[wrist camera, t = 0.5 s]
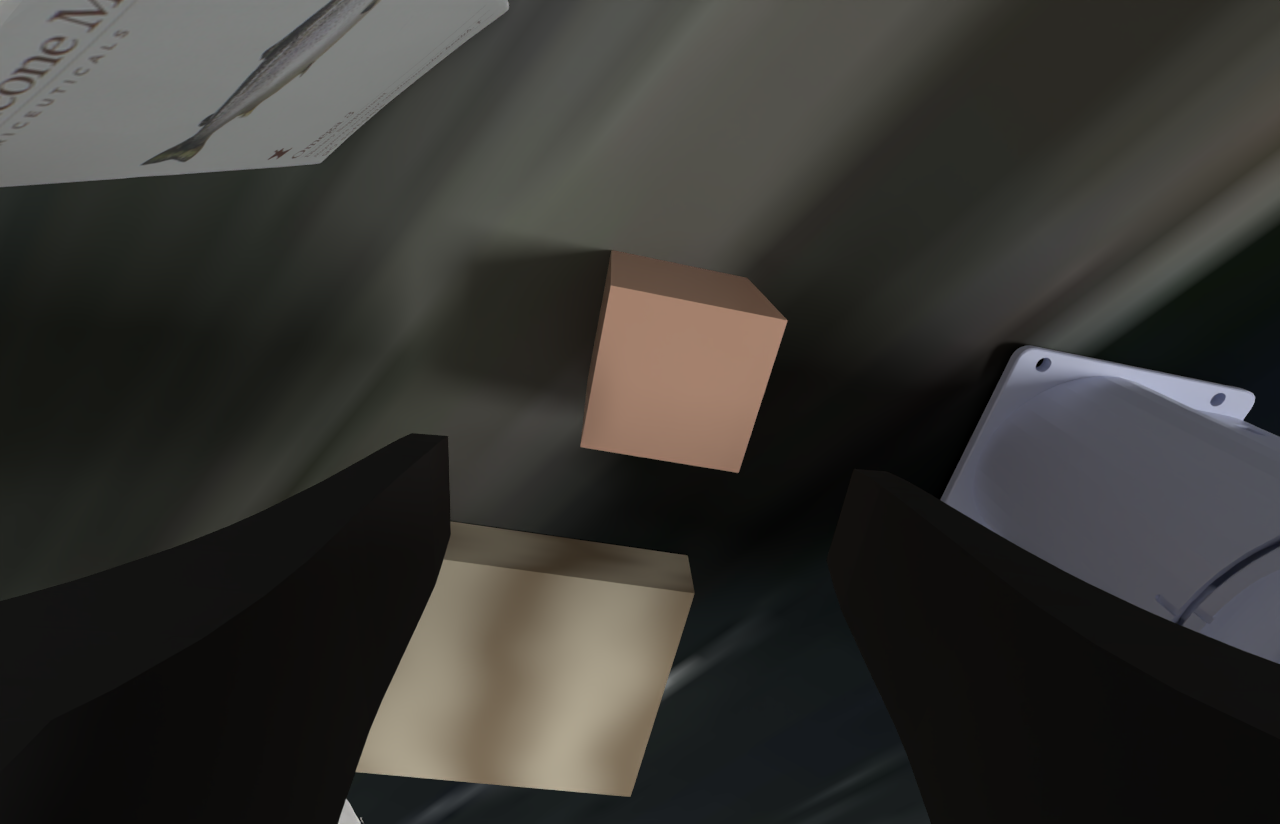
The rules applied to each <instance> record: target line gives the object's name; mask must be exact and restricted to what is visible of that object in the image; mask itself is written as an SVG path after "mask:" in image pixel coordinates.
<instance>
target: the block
mask: <svg viewBox="0 0 1280 824" xmlns="http://www.w3.org/2000/svg"><path fill="white" fill-rule="evenodd" d="M787 321H788V320H787V319H786V318H785V317H784V316H783V315H782V314H781V313H780V312H779V311H778V310H777V309H776V308H775V307H774V306H773V305H772V304H771V302H770V301H769V300H768V299H767V298H766V297H765V296H764V295H763V294H762V293H761V292H760V291H759V290H758V289H757V288H756V287H755V286H754V285H753V284H752V283H751V281H750V280H749V279H748V278H745V277H740V276H735V275H731V274H726V273H721V272H716V271H711V270H706V269H701V268H697V267H692V266H687V265H682V264H677V263H672V262H667V261H663V260H658V259H653V258H648V257H643V256H638V255H633V254H629V253H624V252H619V251H614V250H611V255H610V261H609V266H608V272H607V277H606V282H605V288H604V293H603V299H602V304H601V309H600V315H599V320H598V326H597V331H596V337H595V342H594V347H593V353H592V358H591V364H590V369H589V375H588V380H587V389H586V399H585V408H584V417H583V427H582V436H581V445H580V447H583V448H589V449H595V450H601V451H607V452H613V453H619V454H626V455H632V456H638V457H644V458H650V459H656V460H662V461H668V462H675V463H681V464H687V465H693V466H699V467H705V468H711V469H717V470H724V471H730V472H736V473H739V470H740V467H741V464H742V461H743V458H744V455H745V452H746V448H747V445H748V442H749V439H750V436H751V433H752V430H753V427H754V424H755V420H756V417H757V414H758V411H759V408H760V405H761V402H762V399H763V395H764V392H765V389H766V386H767V383H768V380H769V377H770V374H771V371H772V367H773V364H774V361H775V358H776V355H777V352H778V349H779V346H780V342H781V339H782V336H783V333H784V330H785V327H786V324H787Z"/></svg>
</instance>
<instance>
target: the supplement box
mask: <svg viewBox="0 0 1280 824" xmlns="http://www.w3.org/2000/svg"><path fill="white" fill-rule="evenodd" d="M508 9H509V3H508V1H507V0H0V187H10V186H24V185H39V184H53V183H67V182H81V181H94V180H108V179H122V178H133V177H144V176H163V175H177V174H191V173H205V172H218V171H232V170H245V169H262V168H274V167H287V166H298V165H311V164H319V163H321V162H322V161H323V160H324V159H325V158H327V157H328V156H329V155H330V154H331V153H332V152H333V151H334V150H335V149H336V148H337V147H339V146H340V145H341V144H342V143H343V142H344V141H345V140H346V139H347V138H348V137H349V136H351V135H352V134H353V133H354V132H355V131H356V130H357V129H358V128H360V127H361V126H362V125H363V124H364V123H365V122H366V121H368V120H369V119H370V118H371V117H372V116H373V115H375V114H376V113H377V112H378V111H379V110H380V109H382V108H383V107H384V106H385V105H386V104H388V103H389V102H390V101H391V100H393V99H394V98H395V97H396V96H397V95H399V94H400V93H401V92H402V91H404V90H405V89H406V88H407V87H409V86H410V85H411V84H412V83H414V82H415V81H416V80H417V79H419V78H420V77H421V76H422V75H424V74H425V73H426V72H428V71H429V70H430V69H431V68H433V67H434V66H435V65H436V64H438V63H439V62H440V61H441V60H443V59H444V58H445V57H447V56H448V55H449V54H450V53H452V52H453V51H454V50H456V49H457V48H458V47H459V46H461V45H462V44H463V43H465V42H466V41H467V40H469V39H470V38H471V37H473V36H474V35H475V34H477V33H478V32H479V31H481V30H482V29H483V28H485V27H486V26H487V25H489V24H490V23H491V22H493V21H494V20H496V19H497V18H498V17H500V16H501V15H503V14H504V13H505V12H506V11H508Z"/></svg>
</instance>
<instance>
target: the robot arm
mask: <svg viewBox="0 0 1280 824" xmlns="http://www.w3.org/2000/svg"><path fill="white" fill-rule="evenodd" d="M1042 358H1044V360H1043V363H1042V364H1041V365H1040V366H1039V367H1037V368H1036V364H1037V362H1038V361H1039V360H1040V359H1042ZM1214 395H1215V396H1214ZM1213 396H1214V397H1213ZM1212 397H1213V398H1212ZM1254 402H1255V396H1254V394H1253V393H1251V392H1249V391H1247V390H1244V389H1242V388H1238V387H1233V386H1228V385H1223V384H1218V383H1213V382H1208V381H1203V380H1198V379H1194V378H1189V377H1184V376H1179V375H1174V374H1169V373H1164V372H1159V371H1154V370H1149V369H1144V368H1140V367H1135V366H1130V365H1125V364H1120V363H1115V362H1110V361H1105V360H1100V359H1095V358H1090V357H1086V356H1081V355H1076V354H1071V353H1066V352H1061V351H1056V350H1051V349H1046V348H1041V347H1036V346H1032V345H1025V346H1022V347H1020V348H1018V349H1017V350H1016V351H1015V352H1014V353H1013V354H1012V356H1011V358H1010V360H1009V362H1008V364H1007V366H1006V368H1005V370H1004V372H1003V374H1002V376H1001V378H1000V380H999V382H998V384H997V386H996V388H995V390H994V392H993V394H992V396H991V398H990V400H989V402H988V404H987V406H986V408H985V410H984V412H983V414H982V416H981V418H980V420H979V422H978V424H977V426H976V428H975V430H974V432H973V434H972V437H971V439H970V441H969V443H968V445H967V447H966V449H965V451H964V453H963V455H962V457H961V459H960V461H959V463H958V465H957V467H956V469H955V471H954V473H953V475H952V477H951V479H950V481H949V483H948V485H947V487H946V489H945V491H944V493H943V495H942V497H941V499H940V500H939V499H938V498H936V497H934V496H933V495H931V494H929V493H927V492H926V491H924V490H922V489H920V488H919V487H917V486H915V485H913V484H912V483H910V482H908V481H906V480H904V479H902V478H900V477H898V476H896V475H894V474H891V473H889V472H887V471H875V470H863V469H854V470H853V473H852V476H851V480H850V483H849V486H848V490H847V493H846V496H845V500H844V503H843V506H842V510H841V513H840V517H839V520H838V523H837V527H836V530H835V533H834V537H833V540H832V543H831V547H830V550H829V553H828V557H827V563H828V567H829V571H830V574H831V578H832V582H833V585H834V588H835V592H836V595H837V598H838V601H839V604H840V607H841V610H842V612H843V615H844V617H845V619H846V621H847V624H848V626H849V628H850V630H851V632H852V635H853V637H854V639H855V641H856V643H857V646H858V648H859V650H860V652H861V654H862V656H863V659H864V661H865V663H866V665H867V667H868V669H869V671H870V673H871V676H872V678H873V680H874V682H875V684H876V686H877V688H878V691H879V693H880V695H881V697H882V699H883V701H884V703H885V705H886V708H887V710H888V712H889V714H890V716H891V718H892V720H893V723H894V725H895V727H896V729H897V732H898V734H899V736H900V739H901V741H902V744H903V746H904V748H905V751H906V753H907V756H908V759H909V761H910V764H911V767H912V770H913V773H914V776H915V779H916V781H917V784H918V787H919V790H920V793H921V796H922V798H923V801H924V804H925V807H926V810H927V813H928V816H929V818H930V822H931V824H1280V437H1278V436H1276V435H1274V434H1272V433H1270V432H1267V431H1265V430H1263V429H1261V428H1258V427H1256V426H1254V425H1252V424H1249V423H1247V422H1245V421H1243V419H1244V418H1245V416H1246V415H1247V414H1248V412H1249V411H1250V409H1251V408H1252V406H1253V404H1254ZM450 536H451V525H450V491H449V457H448V436H438V435H425V434H413V433H412V434H409V435H407V436H405V437H402V438H400V439H398V440H397V441H395V442H393V443H391V444H389V445H387V446H385V447H384V448H382V449H380V450H378V451H376V452H375V453H373V454H371V455H369V456H368V457H366V458H364V459H362V460H360V461H359V462H357V463H355V464H353V465H351V466H350V467H348V468H346V469H344V470H342V471H340V472H339V473H337V474H335V475H333V476H331V477H330V478H328V479H326V480H324V481H322V482H320V483H318V484H316V485H314V486H312V487H310V488H308V489H306V490H304V491H302V492H300V493H298V494H296V495H294V496H292V497H290V498H288V499H286V500H284V501H282V502H280V503H278V504H276V505H274V506H272V507H270V508H268V509H266V510H264V511H262V512H260V513H257V514H255V515H253V516H251V517H249V518H246V519H244V520H242V521H239V522H237V523H235V524H232V525H230V526H228V527H225V528H223V529H220V530H218V531H215V532H213V533H210V534H208V535H205V536H203V537H200V538H198V539H195V540H193V541H190V542H188V543H185V544H182V545H179V546H177V547H174V548H171V549H168V550H165V551H162V552H160V553H157V554H154V555H151V556H148V557H145V558H142V559H139V560H136V561H133V562H130V563H127V564H124V565H121V566H118V567H115V568H112V569H109V570H106V571H103V572H100V573H97V574H94V575H91V576H88V577H84V578H81V579H78V580H75V581H71V582H68V583H64V584H61V585H57V586H54V587H50V588H47V589H43V590H40V591H36V592H33V593H29V594H26V595H22V596H19V597H15V598H11V599H7V600H3V601H0V824H338V822H339V819H340V816H341V813H342V810H343V807H344V804H345V800H346V797H347V795H348V792H349V789H350V786H351V783H352V780H353V777H354V774H355V772H356V769H357V766H358V763H359V760H360V757H361V754H362V751H363V749H364V746H365V743H366V740H367V737H368V734H369V731H370V729H371V726H372V724H373V722H374V719H375V717H376V714H377V712H378V709H379V707H380V705H381V702H382V700H383V698H384V696H385V694H386V691H387V689H388V687H389V685H390V683H391V681H392V678H393V676H394V674H395V672H396V670H397V668H398V665H399V663H400V661H401V659H402V657H403V655H404V653H405V650H406V648H407V646H408V644H409V642H410V640H411V637H412V635H413V633H414V631H415V629H416V627H417V625H418V622H419V620H420V618H421V616H422V614H423V611H424V609H425V607H426V605H427V603H428V600H429V598H430V596H431V594H432V591H433V589H434V587H435V585H436V582H437V579H438V575H439V572H440V569H441V566H442V563H443V559H444V556H445V553H446V549H447V546H448V542H449V539H450Z"/></svg>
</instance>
